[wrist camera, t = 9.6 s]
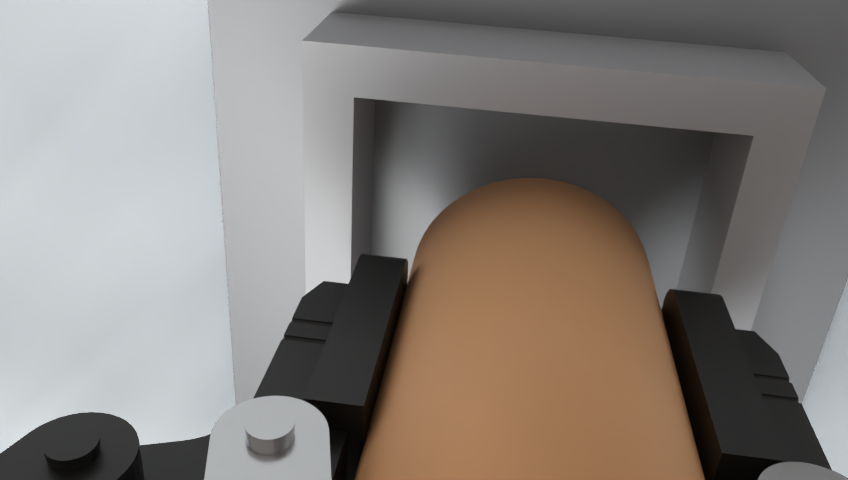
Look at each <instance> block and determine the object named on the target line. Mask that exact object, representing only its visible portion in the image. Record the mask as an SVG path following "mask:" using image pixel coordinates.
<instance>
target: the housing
mask: <svg viewBox="0 0 848 480" xmlns="http://www.w3.org/2000/svg"><path fill="white" fill-rule="evenodd" d="M208 13H209V28H210V42H211V56H212V71H213V85H214V99H215V114H216V128H217V142H218V157H219V171H220V185H221V200H222V214H223V228H224V243H225V257H226V272H227V286H228V300H229V315H230V329H231V343H232V358H233V372H234V386H235V401H236V405H238V404H240V403H242V402H244V401H247V400H250V399H253V398H254V396H255V394H256V392H257V389H258V387H259V385H260V383H261V381H262V379H263V377H264V375H265V373H266V371H267V369H268V367H269V365H270V363H271V360H272V358H273V356H274V354H275V352H276V350H277V348H278V346H279V344H280V342H281V340H282V339H283V338H284V334H285V331H286V329H287V327H288V325H289V323H290V322H292V317H293V315H294V313H295V311H296V309H297V307H298V305H299V302H300V300H301V298H302V297H303V296H304V295H306V294H307V293H308V292H310V291H311V290H312V289H314V288H315V287H316V286H318V285H319V284H320V283H322V282H323V281H329V282H337V283H346V284H349V282H350V279H351V277H352V274H353V272H354V269H355V266H356V264H357V261H358V259H359V257H360V255H361V254H369V255H378V256H387V257H395V258H404V259H407V260H408V279H409V276H410V272H411V268H412V265H413V261H414V257H415V254H416V251H417V247H418V245H419V243H420V241H421V239H422V237H423V235H424V233H425V232H426V230H427V228H428V227H429V225H430V224H431V223H432V221H433V220H434V219H435V218H436V217H437V216H438V215H439V214H440V212H442V211H443V210H444V209H445V208H446V207H447V206H449V205H450V204H451V203H452V202H454V201H455V200H457V199H458V198H460V197H461V196H463V195H465V194H467V193H469V192H471V191H473V190H475V189H477V188H479V187H482V186H485V185H488V184H491V183H494V182H499V181H504V180H509V179H519V178H544V179H550V180H556V181H562V182H565V183H569V184H572V185H575V186H578V187H580V188H583V189H585V190H587V191H590V192H592V193H594V194H595V195H597V196H599V197H600V198H602V199H604V200H605V201H607V202H608V203H609V204H610V205H612V206H613V207H614V208H616V209H617V210H618V211H619V212H620V213H621V214H622V215H623V216H624V217H625V218H626V219H627V220H628V221H629V223H630V224H631V226H632V227H633V228H634V230H635V231H636V233H637V234H638V236H639V238H640V240H641V242H642V244H643V246H644V249H645V252H646V255H647V258H648V261H649V265H650V269H651V273H652V277H653V281H654V285H655V288H656V292H657V296H658V300H659V304H660V308H661V309H662V305H663V301H664V298H665V296H666V293H667V292H668V290H669V289H676V290H685V291H694V292H702V293H711V294H719V295H721V296H722V297H723V299H724V302H725V304H726V307H727V309H728V312H729V314H730V317H731V319H732V322H733V324H734V327H735V329H739V330H748V331H755V332H756V333H757V334H758V335H759V336H760V337H761V338H762V339H763V340H764V341H765V342H766V343H767V344H769V345H770V346H771V347H772V348H773V349H774V350H775V351H776V352H777V353H778V354H779V356H780V358H781V360H782V363H783V365H784V367H785V369H786V371H787V373H788V376H789V378H790V379H789V383H792V384H793V387H794V389H795V391H796V393H797V395H798V397H799V399H798V403H802V400H803V398H804V395H805V392H806V390H807V387H808V384H809V381H810V379H811V376H812V373H813V370H814V368H815V365H816V362H817V360H818V357H819V354H820V351H821V349H822V346H823V343H824V341H825V338H826V335H827V332H828V330H829V327H830V324H831V322H832V319H833V316H834V313H835V311H836V308H837V305H838V302H839V300H840V297H841V294H842V292H843V289H844V286H845V283H846V281H847V278H848V0H208ZM407 283H408V281H407Z"/></svg>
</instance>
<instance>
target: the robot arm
mask: <svg viewBox="0 0 848 480" xmlns="http://www.w3.org/2000/svg"><path fill="white" fill-rule="evenodd" d="M407 281H408V260H407V259H404V258H395V257H387V256H378V255H369V254H361V255H360V257H359V259H358V261H357V264H356V266H355V269H354V272H353V274H352V277H351V279H350V282H349V284H346V283H337V282H329V281H323V282H322V283H320V284H319V285H318V286H316V287H315V288H314V289H312V290H311V291H310V292H308V293H307V294H306V295H304V296H303V297H302V298H301V300H300V302H299V305H298V307H297V309H296V311H295V313H294V315H293V317H292V322H290V323H289V325H288V327H287V329H286V331H285V334H284V338H283V339H282V340H281V342H280V344H279V346H278V348H277V350H276V352H275V354H274V356H273V358H272V360H271V363H270V365H269V367H268V369H267V371H266V373H265V375H264V377H263V379H262V381H261V383H260V385H259V387H258V389H257V392H256V394H255V396H254V398H253V399H250V400H247V401H244V402H242V403H240V404H238V405H236V406H234V407H232V408H231V409H229V410H228V411H226V412H225V413H224V414H223V415H222V416H221V417H220V418H219V419H218V420H217V422H216V423H215V425H214V427H213V429H212V431H211V434H210V435H207V436H204V437H200V438H196V439H191V440H185V441H177V442H168V443H159V444H150V445H141V446H140V445H139V439H138V436H137V433H136V431H135V429H134V428H133V427H132V426H131V425H130V424H129V423H128V422H127V421H125V420H123V419H121V418H120V417H117V416H114V415H110V414H105V413H94V412H90V413H78V414H72V415H68V416H64V417H60V418H58V419H55V420H52V421H50V422H47V423H45V424H43V425H41V426H39V427H38V428H36V429H34V430H33V431H31V432H30V433H28V434H27V435H26V436H24V437H23V438H21V439H20V440H19V441H17V442H16V443H14V444H13V445H12V446H10V447H9V448H8V449H6V450H5V451H3V452H2V453H1V454H0V480H354V478H355V474H356V471H357V467H358V464H359V460H360V457H361V454H362V450H363V447H364V443H365V439H366V435H367V432H368V428H369V424H370V421H371V417H372V413H373V410H374V406H375V402H376V399H377V395H378V391H379V387H380V384H381V380H382V376H383V373H384V369H385V365H386V362H387V358H388V354H389V350H390V347H391V343H392V339H393V336H394V332H395V328H396V325H397V321H398V317H399V314H400V310H401V306H402V302H403V299H404V295H405V291H406V288H407ZM661 311H662V315H663V319H664V323H665V327H666V331H667V335H668V338H669V342H670V346H671V350H672V354H673V358H674V361H675V365H676V369H677V373H678V377H679V381H680V385H681V388H682V392H683V396H684V400H685V404H686V408H687V412H688V415H689V419H690V423H691V427H692V431H693V435H694V438H695V442H696V446H697V450H698V454H699V458H700V462H701V465H702V469H703V473H704V477H705V480H848V478H846V477H845V476H843V475H841V474H839V473H837V472H835V471H832V470H831V467H830V465H829V463H828V461H827V459H826V456H825V454H824V452H823V450H822V448H821V446H820V443H819V441H818V439H817V437H816V435H815V432H814V430H813V428H812V426H811V424H810V421H809V419H808V417H807V415H806V413H805V411H804V408H803V406H802V404H801V403H798V399H799V397H798V395H797V393H796V391H795V389H794V387H793V384H792V383H789V379H790V378H789V376H788V373H787V371H786V369H785V367H784V365H783V363H782V360H781V358H780V356H779V354H778V353H777V352H776V351H775V350H774V349H773V348H772V347H771V346H770V345H769V344H767V343H766V342H765V341H764V340H763V339H762V338H761V337H760V336H759V335H758V334H757V333H756V332H755V331H748V330H739V329H735V327H734V324H733V322H732V319H731V317H730V314H729V312H728V309H727V307H726V304H725V302H724V299H723V297H722V296H721V295H719V294H711V293H702V292H694V291H685V290H676V289H669V290H668V292H667V293H666V296H665V298H664V301H663V305H662V309H661Z"/></svg>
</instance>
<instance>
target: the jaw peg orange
mask: <svg viewBox="0 0 848 480" xmlns="http://www.w3.org/2000/svg"><path fill="white" fill-rule="evenodd" d="M354 480H705V477H704V473H703V469H702V465H701V462H700V458H699V454H698V450H697V446H696V442H695V438H694V435H693V431H692V427H691V423H690V419H689V415H688V412H687V408H686V404H685V400H684V396H683V392H682V388H681V385H680V381H679V377H678V373H677V369H676V365H675V361H674V358H673V354H672V350H671V346H670V342H669V338H668V335H667V331H666V327H665V323H664V319H663V315H662V311H661V308H660V304H659V300H658V296H657V292H656V288H655V285H654V281H653V277H652V273H651V269H650V265H649V261H648V258H647V255H646V252H645V249H644V246H643V244H642V242H641V240H640V238H639V236H638V234H637V233H636V231H635V230H634V228H633V227H632V226H631V224H630V223H629V221H628V220H627V219H626V218H625V217H624V216H623V215H622V214H621V213H620V212H619V211H618V210H617V209H616V208H614V207H613V206H612V205H610V204H609V203H608V202H607V201H605V200H604V199H602V198H600V197H599V196H597V195H595V194H594V193H592V192H590V191H587V190H585V189H583V188H580V187H578V186H575V185H572V184H569V183H565V182H562V181H556V180H550V179H544V178H519V179H509V180H504V181H499V182H494V183H491V184H488V185H485V186H482V187H479V188H477V189H475V190H473V191H471V192H469V193H467V194H465V195H463V196H461V197H460V198H458V199H457V200H455V201H454V202H452V203H451V204H450V205H449V206H447V207H446V208H445V209H444V210H443V211H442V212H440V214H439V215H438V216H437V217H436V218H435V219H434V220H433V221H432V223H431V224H430V225H429V227H428V228H427V230H426V232H425V233H424V235H423V237H422V239H421V241H420V243H419V245H418V247H417V251H416V254H415V257H414V261H413V265H412V268H411V272H410V276H409V279H408V283H407V288H406V291H405V295H404V299H403V302H402V306H401V310H400V314H399V317H398V321H397V325H396V328H395V332H394V336H393V339H392V343H391V347H390V350H389V354H388V358H387V362H386V365H385V369H384V373H383V376H382V380H381V384H380V387H379V391H378V395H377V399H376V402H375V406H374V410H373V413H372V417H371V421H370V424H369V428H368V432H367V435H366V439H365V443H364V447H363V450H362V454H361V457H360V460H359V464H358V467H357V471H356V474H355V478H354Z"/></svg>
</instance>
